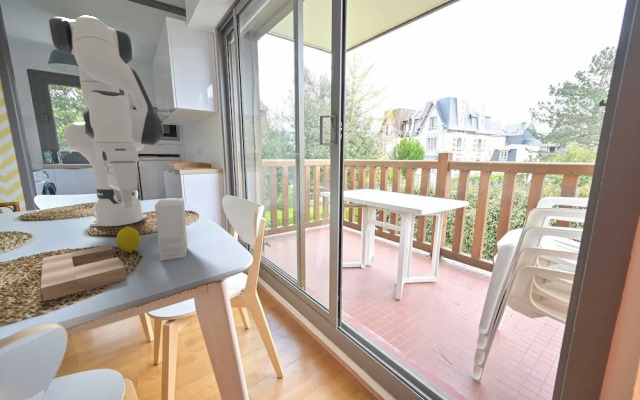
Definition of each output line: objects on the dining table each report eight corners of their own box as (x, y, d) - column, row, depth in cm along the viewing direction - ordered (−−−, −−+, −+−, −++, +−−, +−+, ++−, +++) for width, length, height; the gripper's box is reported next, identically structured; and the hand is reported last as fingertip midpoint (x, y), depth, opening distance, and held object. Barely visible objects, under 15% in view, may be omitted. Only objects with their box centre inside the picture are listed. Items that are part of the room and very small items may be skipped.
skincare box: (164, 250, 76) (158, 199, 73) (189, 247, 79) (184, 197, 76) (159, 261, 68) (153, 204, 66) (187, 258, 71) (182, 202, 68)
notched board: (45, 269, 64) (42, 257, 63) (111, 254, 73) (110, 244, 72) (43, 302, 50) (40, 288, 49) (126, 279, 59) (124, 267, 59)
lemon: (129, 257, 71) (126, 229, 70) (113, 255, 72) (109, 228, 71) (146, 250, 76) (143, 224, 75) (131, 248, 77) (127, 223, 76)
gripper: (96, 154, 74) (104, 201, 76) (107, 154, 60) (116, 212, 62) (123, 154, 78) (130, 199, 81) (139, 154, 64) (146, 208, 67)
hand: (124, 204), depth 71 cm, fingers open, 8 cm apart
